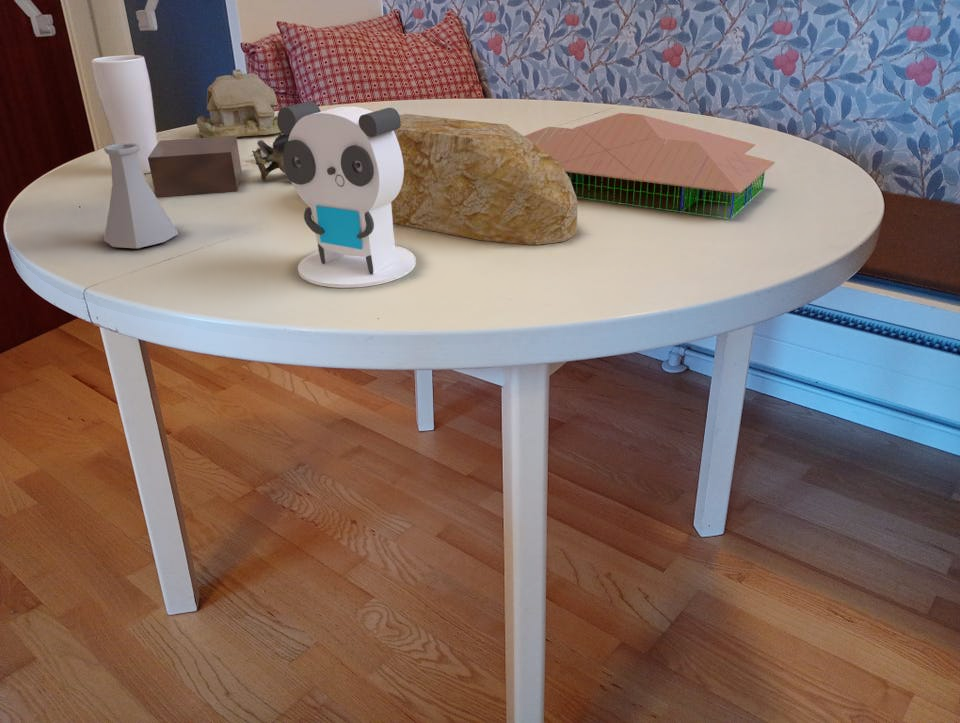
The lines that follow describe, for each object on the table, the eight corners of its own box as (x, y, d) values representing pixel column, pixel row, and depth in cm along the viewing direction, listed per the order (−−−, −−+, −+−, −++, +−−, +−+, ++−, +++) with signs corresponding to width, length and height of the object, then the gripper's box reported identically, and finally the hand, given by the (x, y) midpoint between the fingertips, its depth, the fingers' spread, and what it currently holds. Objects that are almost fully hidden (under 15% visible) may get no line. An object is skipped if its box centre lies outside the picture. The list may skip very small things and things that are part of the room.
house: (558, 148, 122) (559, 91, 118) (787, 173, 106) (796, 108, 102) (477, 185, 104) (475, 120, 101) (736, 222, 89) (745, 146, 85)
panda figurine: (268, 273, 79) (243, 112, 72) (344, 238, 87) (329, 92, 80) (366, 296, 73) (350, 124, 66) (438, 257, 81) (430, 101, 75)
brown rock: (594, 223, 90) (598, 130, 85) (545, 252, 82) (546, 152, 77) (348, 181, 108) (340, 103, 103) (288, 202, 100) (276, 118, 95)
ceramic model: (274, 122, 145) (266, 62, 140) (296, 133, 136) (288, 69, 131) (194, 132, 138) (182, 70, 134) (211, 144, 130) (200, 78, 125)
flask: (135, 255, 84) (113, 157, 80) (92, 244, 88) (68, 150, 83) (191, 234, 90) (173, 142, 85) (148, 225, 93) (128, 135, 88)
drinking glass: (148, 162, 120) (125, 53, 113) (177, 168, 116) (155, 56, 109) (106, 172, 115) (79, 60, 108) (134, 179, 112) (109, 63, 105)
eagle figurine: (263, 183, 104) (331, 162, 105) (244, 130, 104) (312, 111, 106) (268, 200, 111) (332, 181, 113) (251, 151, 111) (315, 133, 113)
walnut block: (155, 197, 103) (147, 157, 101) (166, 177, 112) (159, 140, 110) (237, 191, 105) (231, 151, 103) (242, 172, 114) (236, 135, 111)
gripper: (185, -134, 77) (211, 24, 84) (-51, -129, 74) (-4, 35, 80) (176, -140, 72) (206, 30, 78) (-78, -135, 68) (-26, 42, 75)
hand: (97, 33), depth 79 cm, fingers open, 8 cm apart
